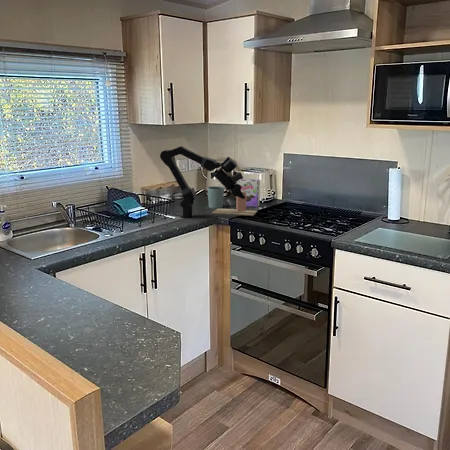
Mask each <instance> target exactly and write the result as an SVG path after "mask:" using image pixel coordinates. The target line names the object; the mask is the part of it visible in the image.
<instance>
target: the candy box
mask: <svg viewBox="0 0 450 450" xmlns="http://www.w3.org/2000/svg"><path fill="white" fill-rule="evenodd" d="M236 182H237V183H236V184H239V185H240V186H241V187H242V188H241V192H245V193H246V208H247V207H250V208H258V207H260V192H261V191H260V190H261V189H260V188H261V187H260V186H261V180H260V179H255V178H254V179H253V178H243V179H240V180H238V181H236Z"/></svg>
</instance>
